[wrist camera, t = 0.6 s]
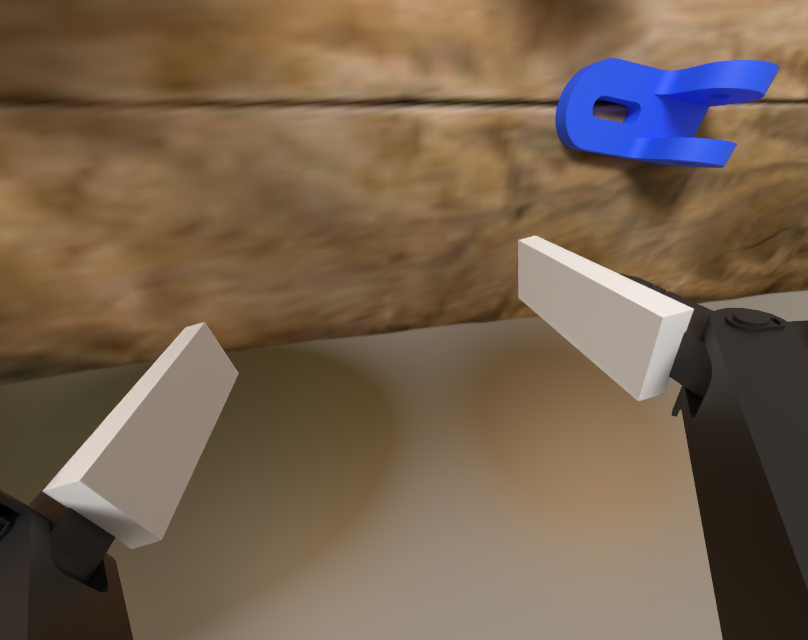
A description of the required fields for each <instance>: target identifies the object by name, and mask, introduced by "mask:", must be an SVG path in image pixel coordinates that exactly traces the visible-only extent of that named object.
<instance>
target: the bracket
mask: <svg viewBox="0 0 808 640" xmlns="http://www.w3.org/2000/svg"><path fill="white" fill-rule="evenodd" d="M778 70H779V66H778V65H776V64H774V63H770V62H765V61H755V60H734V61H722V62H714V63H709V64H704V65H700V66H696V67H692V68H688V69H683V70H677V71H666V70H660V69H656V68H652V67H648V66H644V65H640V64H637V63H633V62H629V61H625V60H621V59H616V58H610V59H605V60H602V61H599V62H596V63H594V64H591V65H588V66H586V67H584V68H583V69H581V70H580V71H579V72H577V73H576V74H575V75H574V76H573V77H572V78H571V80H570V81H569V82H568V84H567V85H566V87H565V88H564V90H563V92H562V94H561V96H560V99H559V102H558V105H557V110H556V129H557V133H558V136H559V138H560V139H561V141H562V142H563V143H564V144H565V145H566V146H567V147H569V148H571V149H574V150H579V151H585V152H590V153H596V154H602V155H608V156H614V157H620V158H625V159H631V160H637V161H643V162H649V163H655V164H660V165H667V166H689V167H711V168H721V167H724V166H725V165H726V163H727V161H728V159H729V158H730V156H731V154H732V152H733V150H734V149H735V147H736V145H737V144H736V143H733V142H729V141H723V140H716V139H705V138H694V136H695V134H696V132H697V130H698V128H699V126H700V124H701V122H702V120H703V118H704V116H705V114H706V112H707V110H708V108H709V107H710V106H718V105H727V104H735V103H743V102H750V101H755V100H758V99H761V98H763V97H764V95H765V93H766V92H767V90H768V88H769V86H770V85H771V83H772V81H773V79H774V77H775V76H776V74H777V72H778ZM597 99H599V100H604V101H608V102H613V103H618V104H622V105H625V106H626V107H627V111H628V112H627V117H626V119H625V120H624V122H623V123H619V122H614V121H609V120H604V119H599V118H596V117H594V115H593V111H592V110H593V105H594V103H595V101H596V100H597Z"/></svg>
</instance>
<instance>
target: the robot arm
mask: <svg viewBox="0 0 808 640" xmlns="http://www.w3.org/2000/svg"><path fill="white" fill-rule="evenodd" d="M518 285H519V299H521V300H522V301H523V302H524V303H525V304H526V305H528V306H529V307H530V308H531V309H532V310H533V311H534V312H536V313H537V314H538V315H539V316H540V317H541V318H543V319H544V320H545V321H546V322H547V323H549V324H550V325H551V326H552V327H553V328H554V329H555V330H556V331H558V332H559V333H560V334H561V335H562V336H563V337H565V338H566V339H567V340H568V341H569V342H570V343H571V344H573V345H574V346H575V347H576V348H577V349H579V350H580V351H581V352H582V353H583V354H584V355H585V356H587V357H588V358H589V359H590V360H591V361H592V362H594V363H595V364H596V365H597V366H598V367H599V368H600V369H602V370H603V371H604V372H605V373H606V374H607V375H609V376H610V377H611V378H612V379H613V380H614V381H616V382H617V383H618V384H619V385H620V386H621V387H622V388H624V389H625V390H626V391H627V392H628V393H629V394H630V395H632V396H633V397H634V398H635V399H636V400H637V401H640V400H644V399H647V398H651V397H654V396H658V395H661V394H664V392H665V389H666V387H667V384H668V381H669V378H670V377H671V378H673V379H674V380H675V381H677V382H678V383H680V384H681V385H682V387H681V390H680V392H679V395H678V397H677V400H676V403H675V405H674V408H673V411H672V416H677V415H678V412H679V410H682V415H683V421H684V427H685V432H686V438H687V443H688V448H689V454H690V460H691V465H692V471H693V477H694V482H695V487H696V493H697V499H698V504H699V510H700V515H701V521H702V526H703V532H704V538H705V543H706V548H707V554H708V560H709V565H710V571H711V577H712V582H713V587H714V593H715V598H716V604H717V610H718V615H719V621H720V627H721V632H722V638H723V640H808V321H793V322H787V321H785V320H784V319H781V318H779V317H777V316H775V315H773V314H769V313H766V312H762V311H758V310H752V309H745V308H725V309H719V310H716V311H712V310H710V309H708V308H705V307H703V306H701V305H699V304H697V303H694V302H692V301H690V300H688V299H685V298H683V297H681V296H679V295H676V294H674V293H672V292H670V291H669V292H666V290H665V289H663V288H661V287H658V286H654V285H653V284H652V283H649V282H647V281H645V280H643V279H640V278H638V277H633V276H629V275H624V274H618V273H616V272H613V271H611V270H609V269H607V268H605V267H603V266H600V265H598V264H596V263H594V262H592V261H590V260H587V259H585V258H583V257H581V256H579V255H577V254H574V253H572V252H570V251H568V250H566V249H564V248H562V247H559V246H557V245H555V244H553V243H551V242H549V241H546V240H544V239H542V238H540V237H538V236H532V237H528V238H525V239H521V240H518ZM238 374H239V373H238V372H237V370H236V369H235V367H234V366H233V364H232V363H231V361H230V360H229V358H228V357H227V355H226V353H225V352H224V350H223V349H222V347H221V346H220V344H219V343H218V341H217V340H216V338H215V337H214V335H213V334H212V332H211V331H210V329H209V328H208V326H207V325H206V323H205V322H204V323H200V324H196V325H192V326H188V327H185V329H184V330H183V331H182V332H181V333H180V334H179V335H178V337H177V338H176V339H175V340H174V341H173V342H172V343H171V345H170V346H169V347H168V348H167V349H166V350H165V351H164V353H163V354H162V355H161V356H160V357H159V358H158V359H157V361H156V362H155V363H154V364H153V365H152V366H151V367H150V369H149V370H148V371H147V372H146V373H145V374H144V375H143V377H142V378H141V379H140V380H139V381H138V382H137V383H136V385H135V386H134V387H133V388H132V389H131V390H130V392H129V393H128V394H127V395H126V396H125V397H124V398H123V399H122V401H121V402H120V403H119V404H118V405H117V406H116V407H115V409H114V410H113V411H112V412H111V413H110V414H109V415H108V417H107V418H106V419H105V420H104V421H103V422H102V423H101V424H100V425H99V426H98V427H97V428H96V429H95V431H94V432H93V433H92V434H91V435H90V436H89V437H88V438H87V440H86V441H85V443H84V444H82V445H81V447H80V448H79V449H78V450H77V451H76V452H75V453H74V455H73V457H71V458H70V459H69V460H68V461H67V462H66V464H65V465H64V466H63V467H62V468H61V469H60V470H59V472H58V473H57V474H56V475H55V476H54V477H53V478H52V479H51V481H50V482H49V483H48V484H47V485H46V486H45V487H44V489H43V490H42V491H41V492H40V493H39V494H38V495H37V497H36V498H35V499H34V500H33V501H32V502H31V503H30V505H29V506H27V505H25V504H24V503H22V502H20V501H19V500H17V499H15V498H13V497H12V496H10V495H9V494H7V493H5V492H3V491H2V490H0V640H133V636H132V632H131V628H130V623H129V618H128V614H127V609H126V605H125V600H124V596H123V591H122V587H121V582H120V578H119V573H118V569H117V564H116V561H115V559H114V558H113V557H112V556H110V555H109V554H107V553H106V552H107V551H108V549H109V547H110V546H111V544H112V542H113V540H114V539H117V540H118V541H120V542H121V543H123V544H124V545H126V546H127V547H129V548H131V549H133V548H137V547H140V546H143V545H147V544H150V543H154V542H157V541H161V540H162V538H163V536H164V534H165V531H166V529H167V527H168V524H169V523H170V521H171V518H172V516H173V514H174V512H175V510H176V507H177V505H178V503H179V501H180V499H181V497H182V495H183V492H184V490H185V488H186V486H187V484H188V482H189V479H190V477H191V475H192V473H193V471H194V469H195V466H196V464H197V462H198V460H199V458H200V456H201V454H202V452H203V449H204V447H205V445H206V443H207V440H208V439H209V436H210V434H211V432H212V430H213V428H214V426H215V423H216V421H217V419H218V417H219V415H220V413H221V410H222V408H223V406H224V404H225V402H226V400H227V397H228V395H229V393H230V391H231V389H232V387H233V385H234V382H235V380H236V378H237V376H238Z"/></svg>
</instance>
